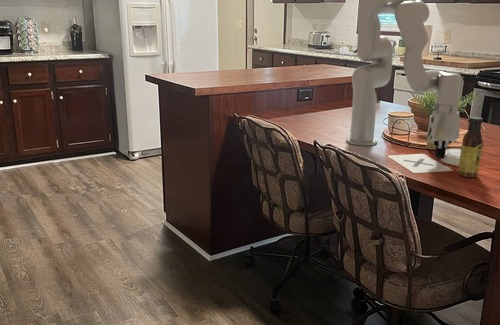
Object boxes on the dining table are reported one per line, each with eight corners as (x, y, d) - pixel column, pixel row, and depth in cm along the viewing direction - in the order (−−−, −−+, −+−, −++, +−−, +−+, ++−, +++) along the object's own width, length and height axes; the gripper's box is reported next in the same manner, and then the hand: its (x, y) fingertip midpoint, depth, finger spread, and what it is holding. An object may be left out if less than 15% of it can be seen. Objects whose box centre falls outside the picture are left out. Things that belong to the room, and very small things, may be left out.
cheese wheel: (480, 161, 180) (481, 151, 179) (469, 169, 172) (470, 159, 171) (447, 154, 188) (449, 145, 187) (435, 161, 179) (436, 152, 178)
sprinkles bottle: (424, 147, 197) (428, 114, 193) (434, 146, 197) (439, 114, 193) (429, 150, 193) (433, 116, 188) (440, 150, 193) (444, 116, 189)
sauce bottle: (478, 179, 161) (487, 120, 155) (457, 177, 163) (466, 119, 157) (477, 173, 167) (486, 116, 160) (457, 171, 169) (465, 115, 163)
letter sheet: (386, 155, 185) (386, 155, 185) (422, 153, 188) (422, 153, 188) (413, 173, 166) (413, 173, 166) (453, 170, 169) (453, 170, 169)
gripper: (432, 111, 168) (426, 162, 173) (471, 109, 170) (464, 159, 176) (421, 106, 175) (415, 155, 180) (458, 105, 177) (452, 153, 183)
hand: (439, 157), depth 178 cm, fingers closed
